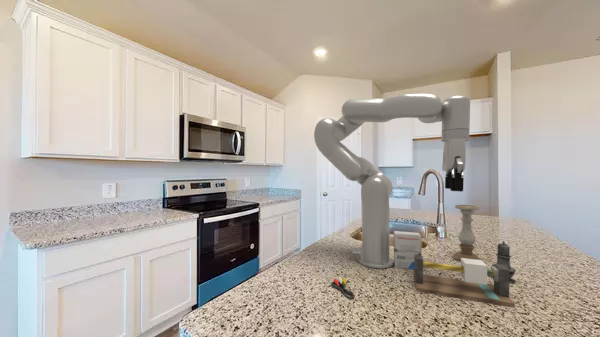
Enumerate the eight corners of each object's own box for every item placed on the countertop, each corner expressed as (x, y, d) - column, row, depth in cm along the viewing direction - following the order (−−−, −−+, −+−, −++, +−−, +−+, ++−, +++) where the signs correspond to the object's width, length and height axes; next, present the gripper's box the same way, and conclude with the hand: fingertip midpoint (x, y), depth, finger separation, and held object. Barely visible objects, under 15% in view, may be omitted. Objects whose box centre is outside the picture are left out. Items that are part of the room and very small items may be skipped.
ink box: (419, 265, 86) (419, 232, 86) (421, 270, 82) (421, 235, 82) (393, 262, 89) (393, 230, 89) (394, 267, 84) (394, 233, 84)
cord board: (416, 291, 68) (416, 262, 68) (413, 276, 77) (413, 251, 77) (514, 307, 60) (514, 275, 60) (498, 288, 69) (498, 260, 69)
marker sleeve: (464, 281, 66) (465, 263, 66) (460, 275, 70) (460, 257, 70) (487, 284, 64) (487, 266, 64) (481, 277, 69) (481, 260, 69)
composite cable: (356, 300, 64) (356, 290, 64) (338, 301, 63) (338, 291, 63) (344, 282, 74) (344, 274, 74) (329, 283, 73) (329, 275, 73)
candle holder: (455, 254, 98) (456, 203, 98) (482, 259, 92) (483, 206, 92) (450, 259, 92) (450, 205, 92) (479, 266, 86) (479, 208, 86)
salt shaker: (520, 284, 72) (521, 244, 72) (498, 282, 73) (498, 243, 73) (508, 276, 78) (508, 238, 78) (487, 274, 79) (487, 237, 79)
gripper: (437, 139, 87) (436, 187, 87) (446, 133, 71) (444, 191, 71) (462, 139, 84) (461, 188, 84) (477, 132, 68) (475, 193, 68)
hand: (453, 189), depth 78 cm, fingers open, 9 cm apart
